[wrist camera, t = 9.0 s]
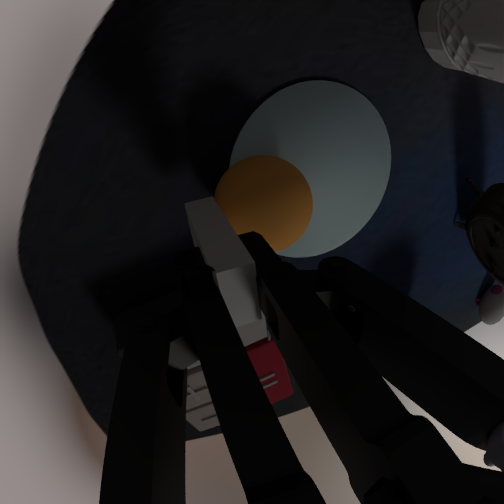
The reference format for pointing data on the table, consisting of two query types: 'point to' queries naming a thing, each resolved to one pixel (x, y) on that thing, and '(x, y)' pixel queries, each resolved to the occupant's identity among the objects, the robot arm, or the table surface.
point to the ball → (266, 199)
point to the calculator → (198, 397)
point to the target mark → (324, 156)
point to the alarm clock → (487, 228)
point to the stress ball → (492, 304)
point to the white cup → (465, 35)
